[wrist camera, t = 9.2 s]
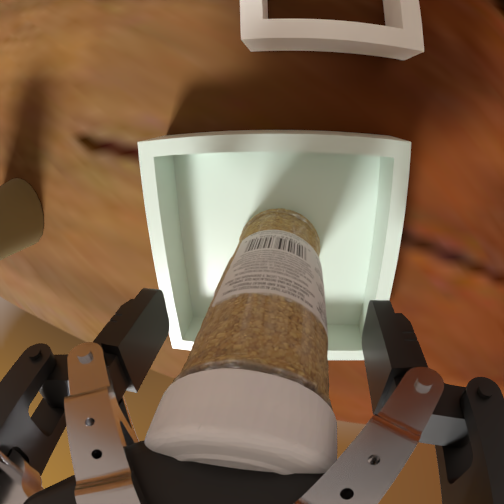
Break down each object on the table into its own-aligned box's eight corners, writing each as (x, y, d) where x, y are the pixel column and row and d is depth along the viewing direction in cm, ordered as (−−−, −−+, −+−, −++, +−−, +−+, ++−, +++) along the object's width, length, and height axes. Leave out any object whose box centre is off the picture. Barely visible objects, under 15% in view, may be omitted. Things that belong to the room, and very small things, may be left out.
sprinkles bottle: (229, 261, 18) (132, 476, 6) (257, 192, 16) (147, 406, 4) (300, 290, 19) (282, 520, 7) (335, 225, 17) (381, 470, 4)
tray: (389, 135, 15) (411, 141, 12) (365, 325, 20) (373, 359, 17) (165, 135, 17) (137, 142, 14) (188, 316, 22) (172, 348, 19)
